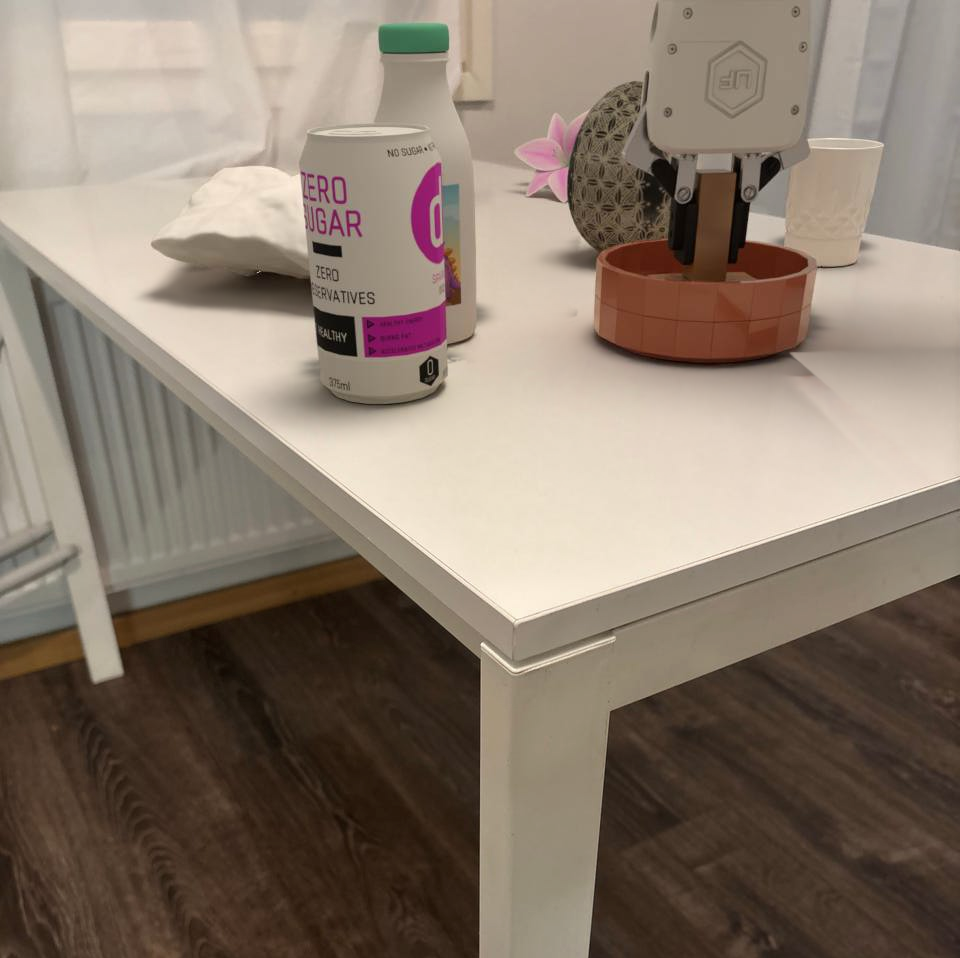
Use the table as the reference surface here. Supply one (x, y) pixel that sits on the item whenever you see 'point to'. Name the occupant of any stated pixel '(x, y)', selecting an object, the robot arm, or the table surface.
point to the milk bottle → (427, 102)
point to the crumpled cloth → (242, 224)
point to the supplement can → (376, 259)
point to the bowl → (703, 303)
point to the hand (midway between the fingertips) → (704, 258)
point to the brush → (712, 229)
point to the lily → (551, 156)
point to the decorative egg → (614, 177)
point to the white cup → (831, 198)
